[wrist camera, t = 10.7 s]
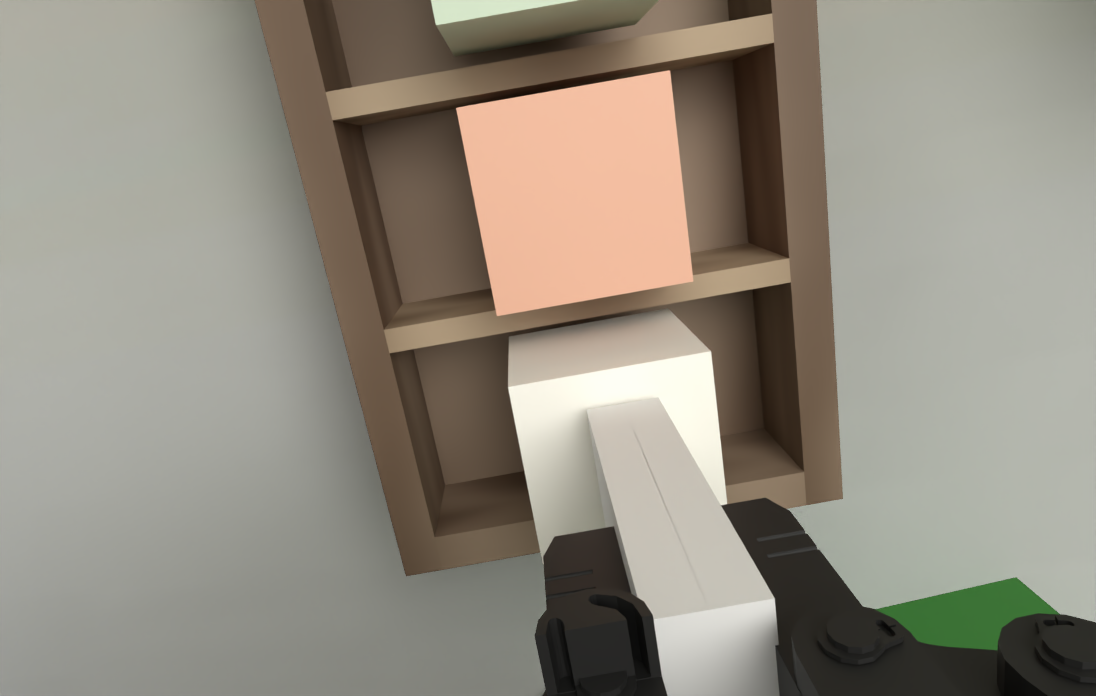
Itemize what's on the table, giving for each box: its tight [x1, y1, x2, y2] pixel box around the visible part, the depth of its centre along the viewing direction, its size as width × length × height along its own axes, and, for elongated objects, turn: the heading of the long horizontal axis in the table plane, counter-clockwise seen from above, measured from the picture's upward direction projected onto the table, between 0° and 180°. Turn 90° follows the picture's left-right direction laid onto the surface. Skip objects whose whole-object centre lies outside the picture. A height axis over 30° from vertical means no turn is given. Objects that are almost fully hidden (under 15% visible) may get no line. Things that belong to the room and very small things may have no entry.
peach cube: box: [456, 70, 693, 316], centre depth 16 cm, size 4×4×4 cm
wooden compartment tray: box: [255, 0, 843, 576], centre depth 18 cm, size 12×24×5 cm, turn 10°
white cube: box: [508, 308, 727, 564], centre depth 16 cm, size 4×4×4 cm
